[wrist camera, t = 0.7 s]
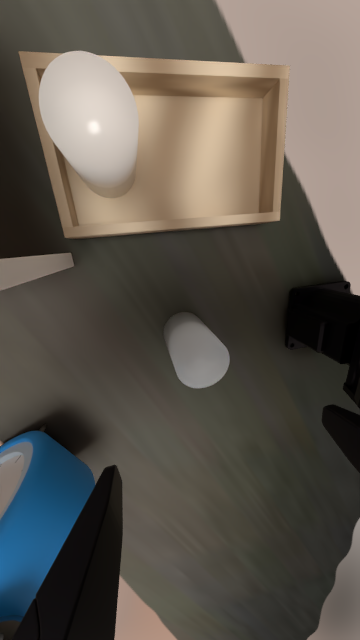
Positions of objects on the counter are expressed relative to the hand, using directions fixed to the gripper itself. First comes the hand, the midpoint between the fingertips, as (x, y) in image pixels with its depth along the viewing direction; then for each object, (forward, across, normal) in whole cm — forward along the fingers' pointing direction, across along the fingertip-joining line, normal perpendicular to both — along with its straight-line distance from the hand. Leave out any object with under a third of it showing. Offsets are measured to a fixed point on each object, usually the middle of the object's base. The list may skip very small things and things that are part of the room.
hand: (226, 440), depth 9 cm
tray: (+12, -1, -13) cm, 18 cm away
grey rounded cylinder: (+12, -1, 0) cm, 12 cm away
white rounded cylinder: (+11, +3, -13) cm, 18 cm away
